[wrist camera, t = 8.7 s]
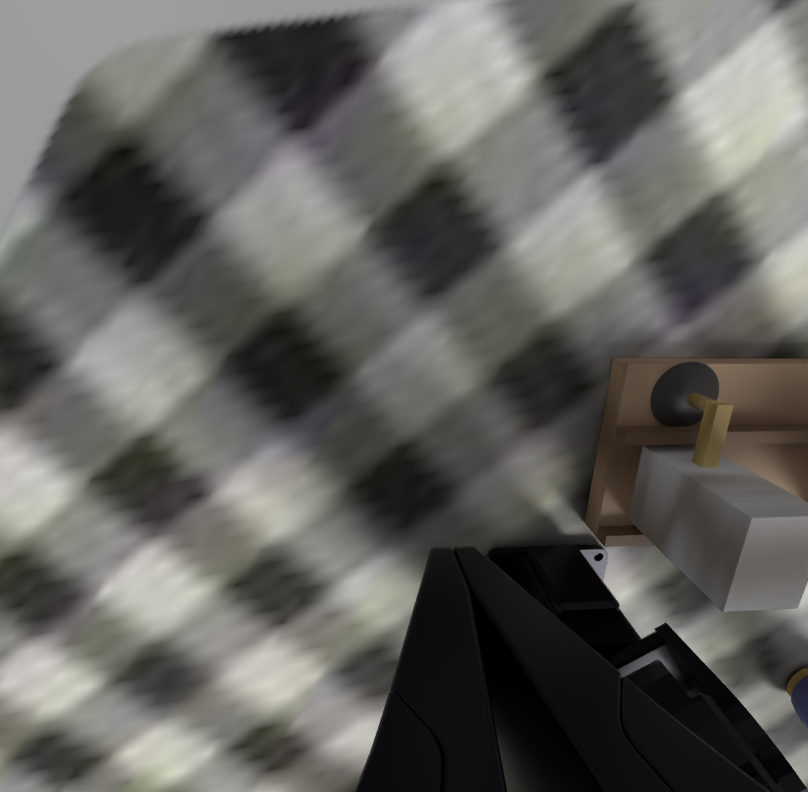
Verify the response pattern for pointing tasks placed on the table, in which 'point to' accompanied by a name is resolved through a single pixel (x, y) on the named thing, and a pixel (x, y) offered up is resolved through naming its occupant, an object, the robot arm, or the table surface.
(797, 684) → the rubber mallet
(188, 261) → the table surface
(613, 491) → the wooden peg rack
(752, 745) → the robot arm
